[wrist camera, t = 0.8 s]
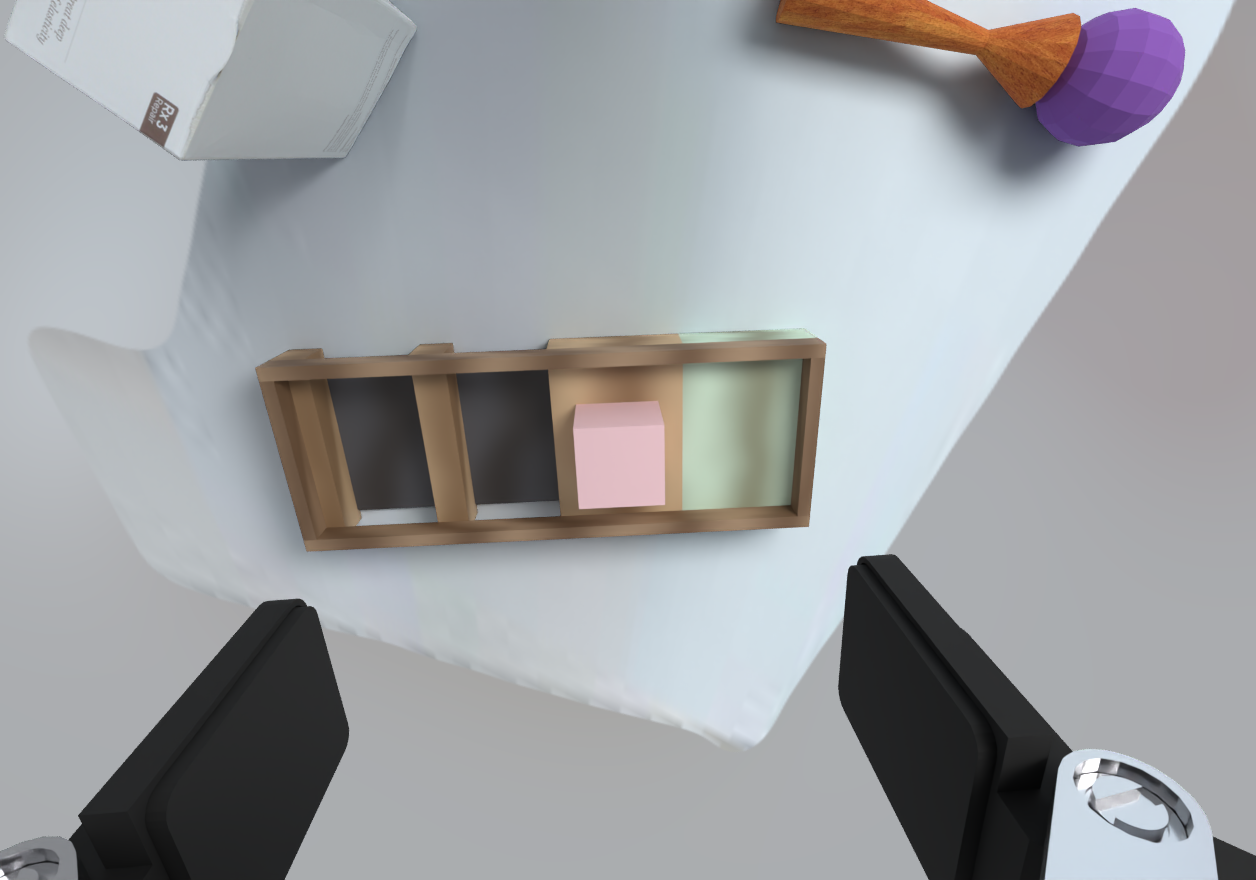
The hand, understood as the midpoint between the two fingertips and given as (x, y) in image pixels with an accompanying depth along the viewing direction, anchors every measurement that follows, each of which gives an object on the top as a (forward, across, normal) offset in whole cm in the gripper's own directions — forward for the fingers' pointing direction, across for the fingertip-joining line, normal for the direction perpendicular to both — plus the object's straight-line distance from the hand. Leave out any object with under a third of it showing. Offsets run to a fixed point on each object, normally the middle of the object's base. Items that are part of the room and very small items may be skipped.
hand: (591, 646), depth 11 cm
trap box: (+29, +3, +6) cm, 30 cm away
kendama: (+29, -20, -14) cm, 38 cm away
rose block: (+27, -1, +6) cm, 28 cm away
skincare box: (+29, +12, -15) cm, 35 cm away
